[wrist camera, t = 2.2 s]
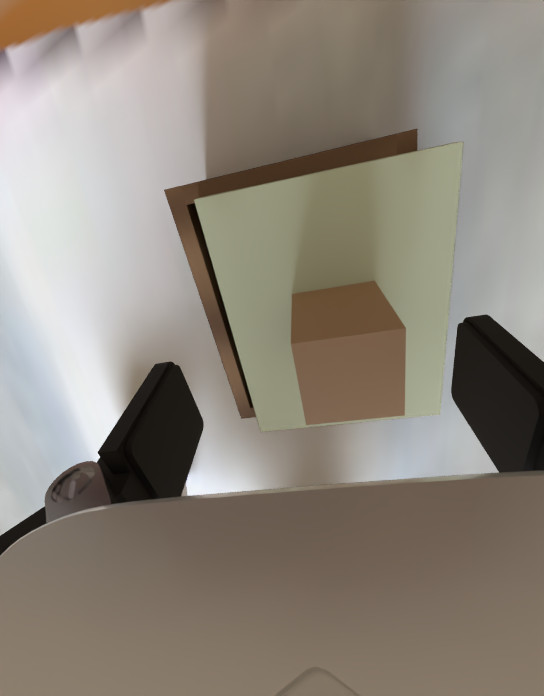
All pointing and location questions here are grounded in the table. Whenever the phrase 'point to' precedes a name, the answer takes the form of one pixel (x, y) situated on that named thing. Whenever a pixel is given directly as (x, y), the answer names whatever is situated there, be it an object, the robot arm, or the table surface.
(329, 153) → the box
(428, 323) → the lid
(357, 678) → the robot arm
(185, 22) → the table surface
